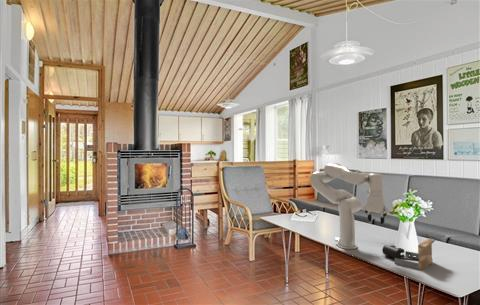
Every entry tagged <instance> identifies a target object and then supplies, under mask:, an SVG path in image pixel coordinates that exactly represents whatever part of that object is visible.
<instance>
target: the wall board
mask: <svg viewBox="0 0 480 305" xmlns="http://www.w3.org/2000/svg"><path fill="white" fill-rule="evenodd" d="M435 242H436V239H433V238H427V239H425V240H424V241H422V242H421V243H419V244H417V246H418V247H417V253H418V259H417V260H418V262H417V263H418V269H417V270H419V271H423V270H424V269H426V267H428V266H429V265H430V264H431V263H432V262H433V252H432V251H433V248H432V247H433V246H432V245H433V243H435Z"/></svg>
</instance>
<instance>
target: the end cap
mask: <svg viewBox="0 0 480 305" xmlns="http://www.w3.org/2000/svg"><path fill="white" fill-rule="evenodd" d="M381 251H382V254H383V255H384V256H386V257H388V258H391V259H393V260H395V258H398V259H402V260H405V259H404V258H405V254H404V253H405V249H404V248H401V247H397V246H395V245H388V244H385V245H383V247H382V250H381Z"/></svg>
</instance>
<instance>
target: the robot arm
mask: <svg viewBox="0 0 480 305" xmlns="http://www.w3.org/2000/svg"><path fill="white" fill-rule="evenodd" d="M309 177H310V178H309V181H310V182H309V183H310V185H311V187H312V188H313V189H314V190H315V192H317V193H319V194H320V195H322V196H323V197H324V198H325V199H327V200H328V201H329V202H330V203H332V204H333V205H335V204H337V210H338V214H339V237H335V238H334V242H337V246H338V247H339V248H341V249H346V250H354V249H357V248H358V246H359V245H358V244H356V224H355V223H356V221H355V216H354V213H358V212H359V211H360V210H361V209H362V210H363V211H364V213H365V214H366V216H367V221H368V222H369V223H370V222H372V220H373V218H372V213H377V214H380V225H383V224H385V217H386V216H387V215H388V214H389V213H390V210H389V209H388V208H387V207H386V203H385V202H386V201H385V197H384V195H383V175H382V174H381V173H372V172H371V173H370V172H354V171H351V170H349V168H348V167H345V166H342V165H341V164H340V163H338V162H337V163H335V162H334V163H327V164H326V165H324V168H323V170H321V171H315V172H312V173H311V175H310V176H309ZM335 179H341V180H343V181H344V182H346V183H350V184H353V185H356V186H364V185H368V190H367V191H366V193H367V194H368V195H367V198H366V204H365V206H364V207H362V202H361V201H360V199H359V198H358V197H356V196H355V195H353V194H352V193H350V192H349V191H348V190H345V189H341V188H340V189H335V188H333V187H332V186H331V185H329V184H327V183H329V182H331V181H333V180H335Z"/></svg>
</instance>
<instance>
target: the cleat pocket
mask: <svg viewBox="0 0 480 305" xmlns="http://www.w3.org/2000/svg"><path fill="white" fill-rule="evenodd" d="M404 253H405V257H407V258H410V259H416V260H418V252H413V251H409V250H406V251H405V250H404ZM409 255H410V256H409ZM413 256H416V257H413ZM394 264H395V265H398V266H403V267H406V268H411V269H415V270H419V269H418V262H415V261H410V260H405V259H404V260H402V259H398V258H395V259H394Z"/></svg>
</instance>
